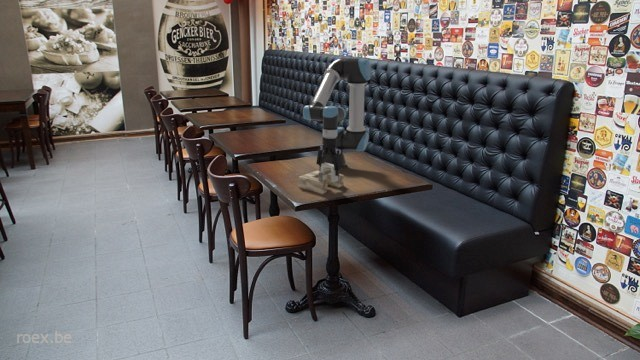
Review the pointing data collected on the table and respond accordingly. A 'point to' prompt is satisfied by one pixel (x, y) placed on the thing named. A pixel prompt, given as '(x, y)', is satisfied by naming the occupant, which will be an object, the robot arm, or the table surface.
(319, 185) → the c-clamp
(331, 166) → the white u-shaped bracket
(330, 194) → the table surface
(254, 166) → the table surface
